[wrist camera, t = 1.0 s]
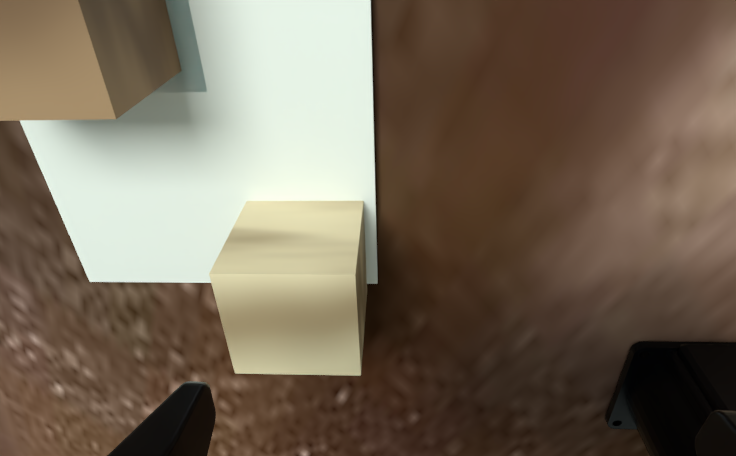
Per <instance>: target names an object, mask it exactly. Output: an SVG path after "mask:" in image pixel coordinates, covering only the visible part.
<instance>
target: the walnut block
mask: <svg viewBox="0 0 736 456" xmlns="http://www.w3.org/2000/svg"><path fill="white" fill-rule="evenodd" d="M181 71H182V70H181V66H180V61H179V57H178V53H177V49H176V44H175V40H174V36H173V31H172V27H171V23H170V19H169V14H168V10H167V6H166V1H165V0H0V121H17V120H100V119H117V118H119V117H120V116H121V115H123V114H124V113H126V112H127V111H128V110H130V109H131V108H132V107H134V106H135V105H136V104H138V103H139V102H140V101H142V100H143V99H144V98H146V97H147V96H148V95H150V94H151V93H152V92H154V91H155V90H156V89H158V88H159V87H161V86H162V85H163V84H165V83H166V82H167V81H169V80H170V79H171V78H173V77H174V76H175V75H177V74H178V73H179V72H181Z"/></svg>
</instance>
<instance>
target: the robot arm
mask: <svg viewBox="0 0 736 456" xmlns="http://www.w3.org/2000/svg"><path fill="white" fill-rule="evenodd" d="M215 416H216V412H215V407H214V402H213V398H212V394H211V390H210V387H209V385H208V384H207V383H206V382H193V381H188V382H185V383H183V384H182V385H181V386H180V387H179V388H178V389H177V390H175V391H174V392H173V393H172V394H171V395H170V396H169V397H168V398H167V399H166V400H165V401H164V402H163V403H162V404H161V405H160V406H159V407H158V408H157V409H156V410H155V411H154V412H152V413H151V414H150V415H149V416H148V417H147V418H146V419H145V420H144V421H143V422H142V423H141V424H140V425H139V426H138V427H137V428H136V429H135V430H134V431H133V432H132V433H131V434H130V435H128V436H127V437H126V438H125V439H124V440H123V441H122V442H121V443H120V444H119V445H118V446H117V447H116V448H115V449H114V450H113V451H112V452H111V453H110V454H109V455H108V456H207V454H208V449H209V445H210V441H211V437H212V432H213V428H214V424H215ZM605 419H606V422H607V424H608V426H609V427H610V428H613V429H638V431H639V433H640V436H641V438H642V440H643V442H644V444H645V446H646V448H647V451H648V453H649V455H650V456H736V343H714V342H638V343H636V344H634V345H633V346H632V347H631V349H630V352H629V355H628V357H627V360H626V363H625V366H624V368H623V371H622V374H621V376H620V379H619V382H618V384H617V387H616V390H615V392H614V395H613V398H612V400H611V403H610V406H609V409H608V411H607V414H606V417H605Z"/></svg>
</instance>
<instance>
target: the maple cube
mask: <svg viewBox="0 0 736 456" xmlns="http://www.w3.org/2000/svg"><path fill="white" fill-rule="evenodd" d="M209 276H210V280H211V283H212V287H213V291H214V295H215V299H216V302H217V306H218V310H219V314H220V318H221V322H222V325H223V329H224V333H225V337H226V341H227V345H228V348H229V352H230V356H231V360H232V364H233V367H234V371H235V373H242V374H298V375H355V376H361V368H362V355H363V341H364V328H365V314H366V301H367V275H366V250H365V225H364V201H246V203H245V205H244V207H243V209H242V211H241V213H240V215H239V217H238V219H237V221H236V222H235V224H234V226H233V228H232V230H231V232H230V234H229V236H228V238H227V240H226V242H225V244H224V246H223V248H222V250H221V252H220V253H219V255H218V257H217V259H216V261H215V263H214V265H213V267H212V269H211V271H210V273H209Z"/></svg>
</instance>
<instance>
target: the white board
mask: <svg viewBox="0 0 736 456" xmlns="http://www.w3.org/2000/svg"><path fill="white" fill-rule="evenodd" d="M165 1H166V6H167V10H168V14H169V19H170V23H171V27H172V31H173V36H174V40H175V44H176V49H177V53H178V57H179V61H180V66H181V70H182V71H181V72H179V73H178V74H177V75H175V76H174V77H173V78H171V79H170V80H169V81H167V82H166V83H165V84H163V85H162V86H161V87H159V88H158V89H156V90H155V91H154V92H152V93H151V94H150V95H148V96H147V97H146V98H144V99H143V100H142V101H140V102H139V103H138V104H136V105H135V106H134V107H132V108H131V109H130V110H128V111H127V112H126V113H124V114H123V115H121V116H120V117H119V118H117V119H100V120H20V123H21V125H22V127H23V129H24V132H25V134H26V136H27V139H28V141H29V143H30V146H31V148H32V150H33V152H34V155H35V157H36V159H37V162H38V164H39V166H40V169H41V171H42V173H43V175H44V178H45V180H46V182H47V185H48V187H49V189H50V192H51V194H52V196H53V198H54V201H55V203H56V205H57V208H58V210H59V212H60V215H61V217H62V219H63V222H64V224H65V226H66V228H67V231H68V233H69V235H70V238H71V240H72V242H73V245H74V247H75V249H76V251H77V254H78V256H79V258H80V261H81V263H82V265H83V268H84V270H85V272H86V274H87V277H88V279H89V281H90V282H181V283H211V280H210V276H209V273H210V271H211V269H212V267H213V265H214V263H215V261H216V259H217V257H218V255H219V253H220V252H221V250H222V248H223V246H224V244H225V242H226V240H227V238H228V236H229V234H230V232H231V230H232V228H233V226H234V224H235V222H236V221H237V219H238V217H239V215H240V213H241V211H242V209H243V207H244V205H245V203H246V201H364V225H365V250H366V275H367V284H377V283H378V269H377V228H376V186H375V145H374V103H373V61H372V20H371V0H165Z"/></svg>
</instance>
